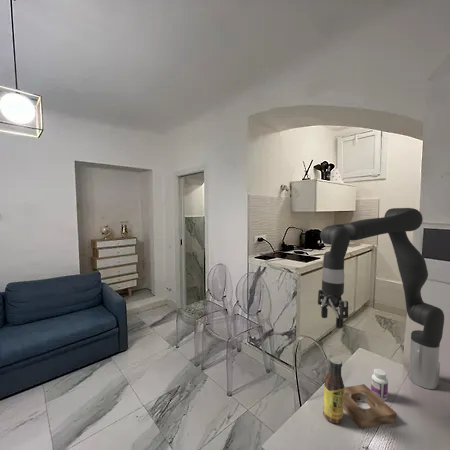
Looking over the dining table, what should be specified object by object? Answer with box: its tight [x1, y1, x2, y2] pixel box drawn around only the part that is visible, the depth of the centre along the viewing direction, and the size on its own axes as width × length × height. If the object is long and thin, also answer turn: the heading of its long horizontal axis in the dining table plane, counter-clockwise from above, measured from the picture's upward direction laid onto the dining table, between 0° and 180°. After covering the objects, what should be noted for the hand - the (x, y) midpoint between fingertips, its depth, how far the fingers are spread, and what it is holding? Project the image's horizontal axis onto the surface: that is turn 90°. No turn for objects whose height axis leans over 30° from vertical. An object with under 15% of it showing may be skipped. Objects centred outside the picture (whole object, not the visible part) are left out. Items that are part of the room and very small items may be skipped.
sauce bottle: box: [322, 356, 345, 424], centre depth 81 cm, size 7×6×20 cm
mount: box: [343, 383, 398, 430], centre depth 86 cm, size 14×14×3 cm
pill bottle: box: [370, 368, 389, 402], centre depth 92 cm, size 5×5×10 cm
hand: (331, 322), depth 89 cm, fingers open, 8 cm apart
